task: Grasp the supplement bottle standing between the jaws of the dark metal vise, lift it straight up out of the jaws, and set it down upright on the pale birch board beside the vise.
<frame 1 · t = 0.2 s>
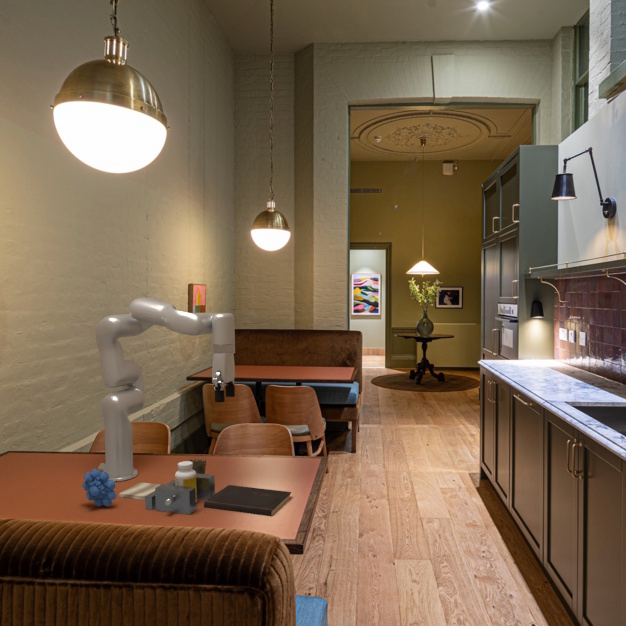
hand: (225, 399, 182), 31 cm above the table, tool pointing down, fingers open, 9 cm apart
supplement bottle: (186, 503, 170), resting in vise
hardcover book: (248, 504, 170), on the table
vise: (186, 502, 170), on the table
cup: (195, 485, 187), on the table
grapes: (98, 508, 168), on the table
birch board: (143, 492, 180), on the table
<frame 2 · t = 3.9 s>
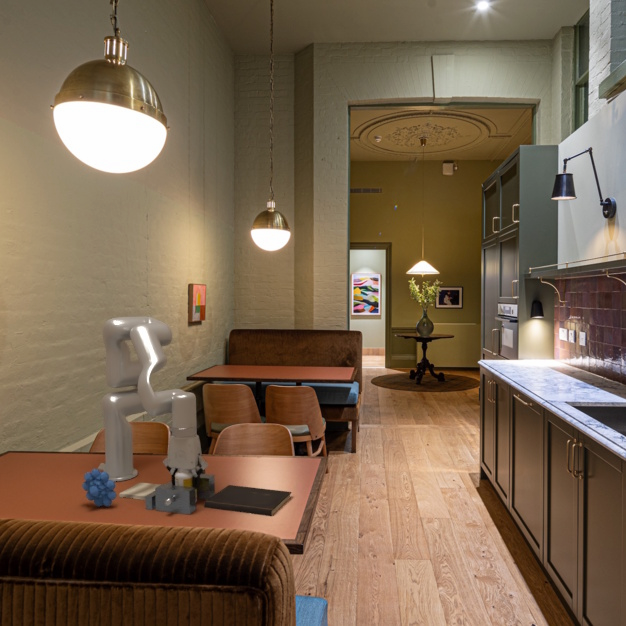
hand: (185, 486, 170), 5 cm above the table, tool pointing down, fingers closed on supplement bottle, 6 cm apart
supplement bottle: (186, 503, 170), resting in vise, touching gripper
everything else where it was.
when the fingers open (8 cm above the table, at t = 11.2 s): supplement bottle drops 2 cm, resting on birch board.
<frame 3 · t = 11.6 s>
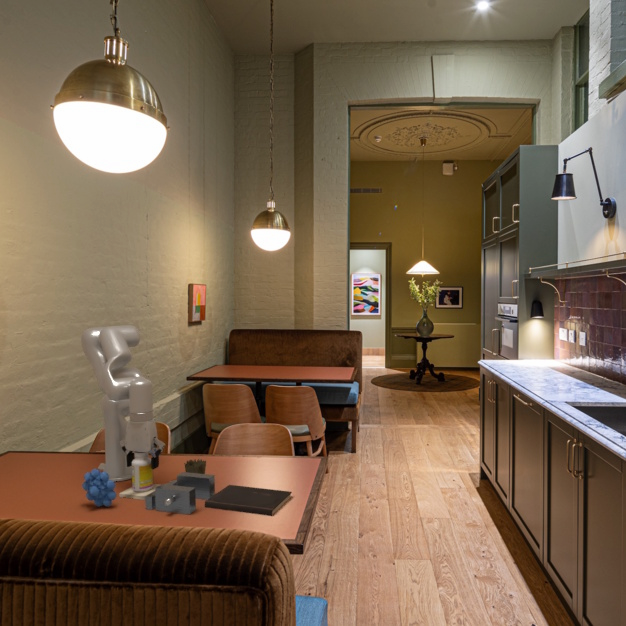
hand: (142, 466, 180), 9 cm above the table, tool pointing down, fingers open, 9 cm apart
supplement bottle: (142, 489, 180), point 1 cm above the table, touching birch board
everything else where it was.
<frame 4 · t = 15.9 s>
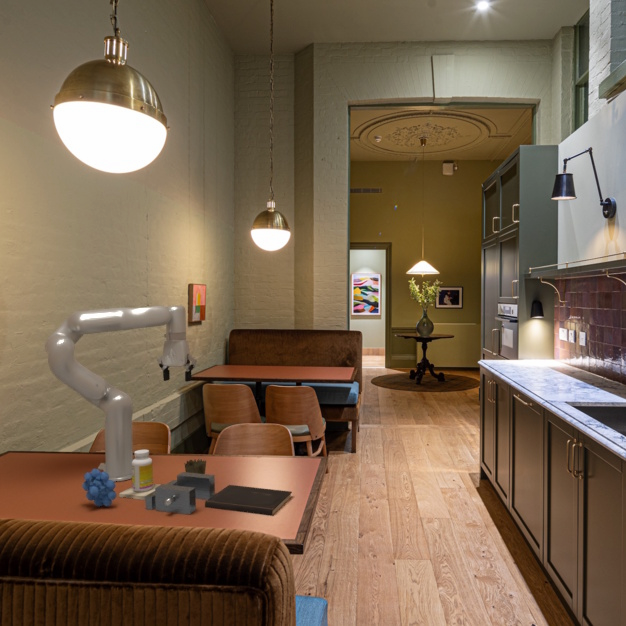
hand: (177, 380, 209), 33 cm above the table, tool pointing down, fingers open, 9 cm apart
nothing on the table moved.
at the end: supplement bottle inside the target area on the birch board (0.3 cm from its centre), point 1.0 cm above the birch board's base; supplement bottle tilted 0°; the gripper is holding nothing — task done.
